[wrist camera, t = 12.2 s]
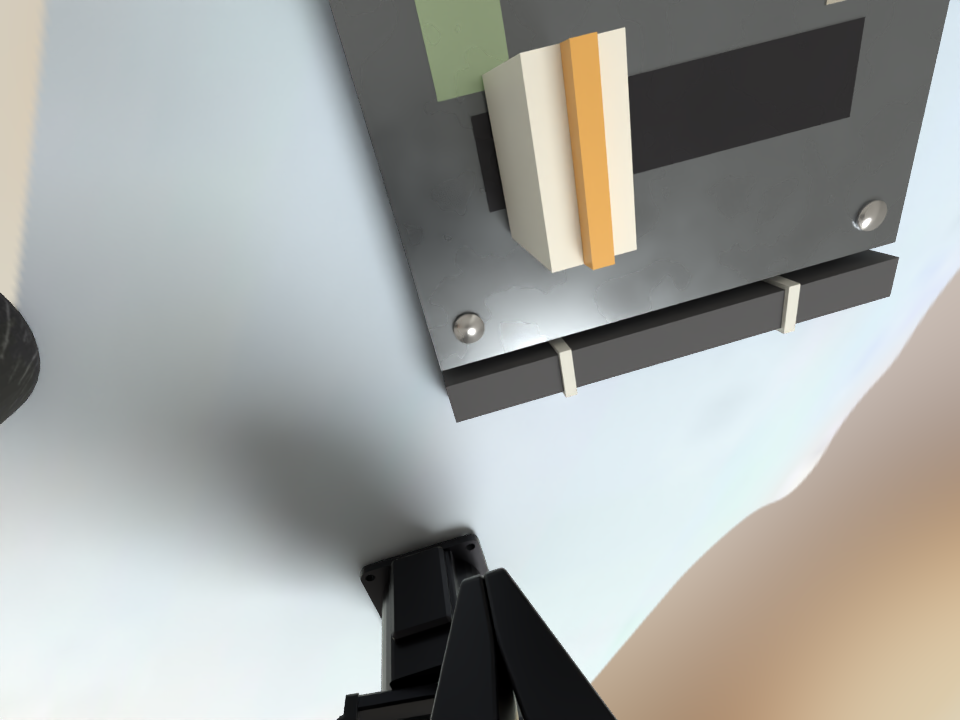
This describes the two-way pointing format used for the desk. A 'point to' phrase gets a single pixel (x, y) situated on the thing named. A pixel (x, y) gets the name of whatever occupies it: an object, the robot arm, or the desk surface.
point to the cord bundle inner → (668, 333)
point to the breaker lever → (566, 149)
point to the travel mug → (15, 360)
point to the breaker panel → (645, 148)
